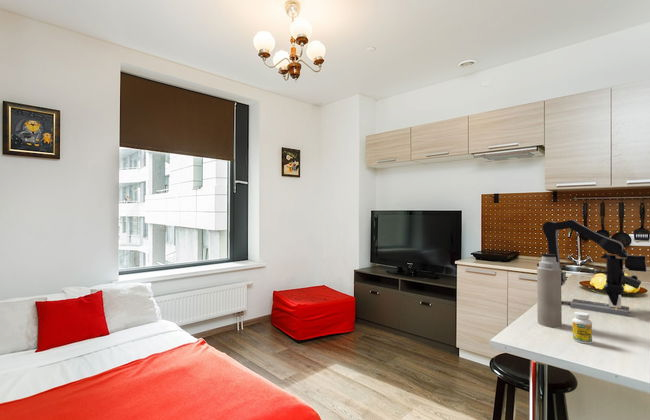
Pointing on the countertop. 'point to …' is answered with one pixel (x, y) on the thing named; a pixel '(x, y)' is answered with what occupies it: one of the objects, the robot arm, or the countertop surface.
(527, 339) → the countertop surface
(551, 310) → the thermos bottle
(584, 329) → the supplement bottle
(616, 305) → the fader cap
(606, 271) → the robot arm
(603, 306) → the console board
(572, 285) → the countertop surface
